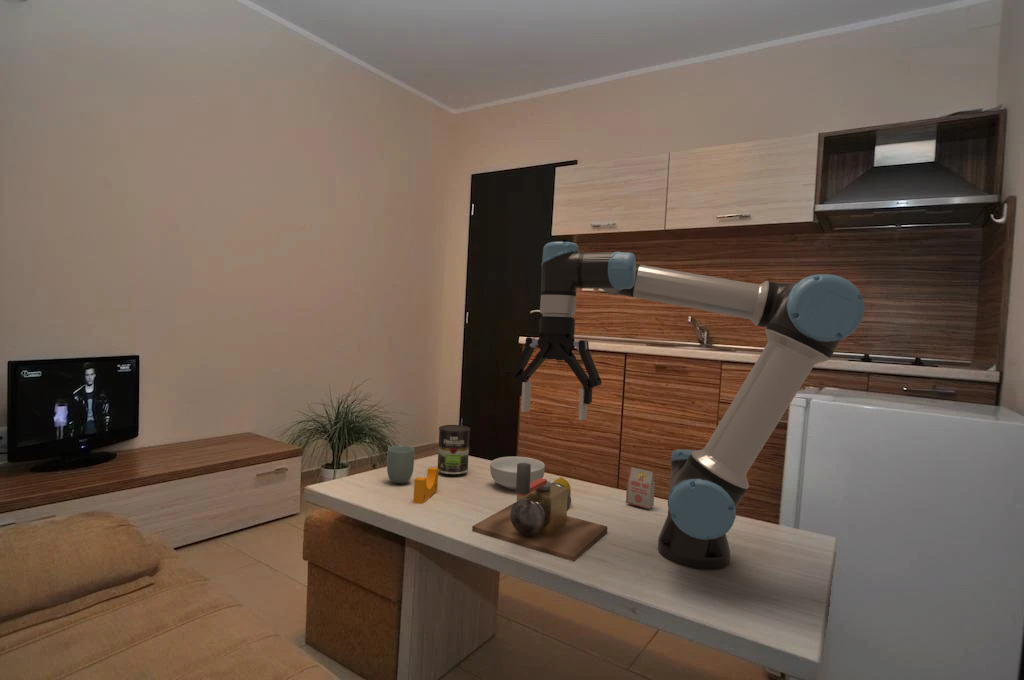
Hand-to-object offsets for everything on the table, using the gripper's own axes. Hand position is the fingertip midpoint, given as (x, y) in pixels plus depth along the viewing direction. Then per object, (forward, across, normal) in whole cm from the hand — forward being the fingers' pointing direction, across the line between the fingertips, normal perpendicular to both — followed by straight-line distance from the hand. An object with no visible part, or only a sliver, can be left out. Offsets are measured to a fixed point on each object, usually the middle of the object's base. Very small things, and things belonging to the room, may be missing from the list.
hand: (553, 415), depth 108 cm
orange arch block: (+30, +45, -12) cm, 56 cm away
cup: (+30, +59, -16) cm, 68 cm away
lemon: (+30, +11, -29) cm, 43 cm away
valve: (+29, +7, -10) cm, 31 cm away
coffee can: (+30, +54, -36) cm, 71 cm away
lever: (+20, +7, -10) cm, 23 cm away
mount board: (+30, +7, -10) cm, 32 cm away
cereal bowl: (+30, +29, -36) cm, 55 cm away
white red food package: (+31, -7, -44) cm, 55 cm away
